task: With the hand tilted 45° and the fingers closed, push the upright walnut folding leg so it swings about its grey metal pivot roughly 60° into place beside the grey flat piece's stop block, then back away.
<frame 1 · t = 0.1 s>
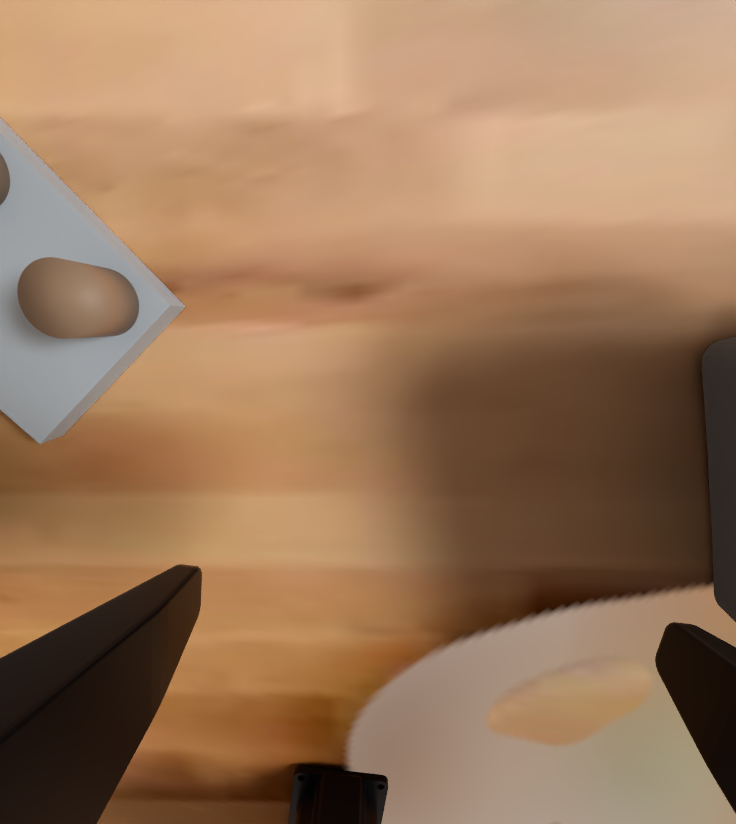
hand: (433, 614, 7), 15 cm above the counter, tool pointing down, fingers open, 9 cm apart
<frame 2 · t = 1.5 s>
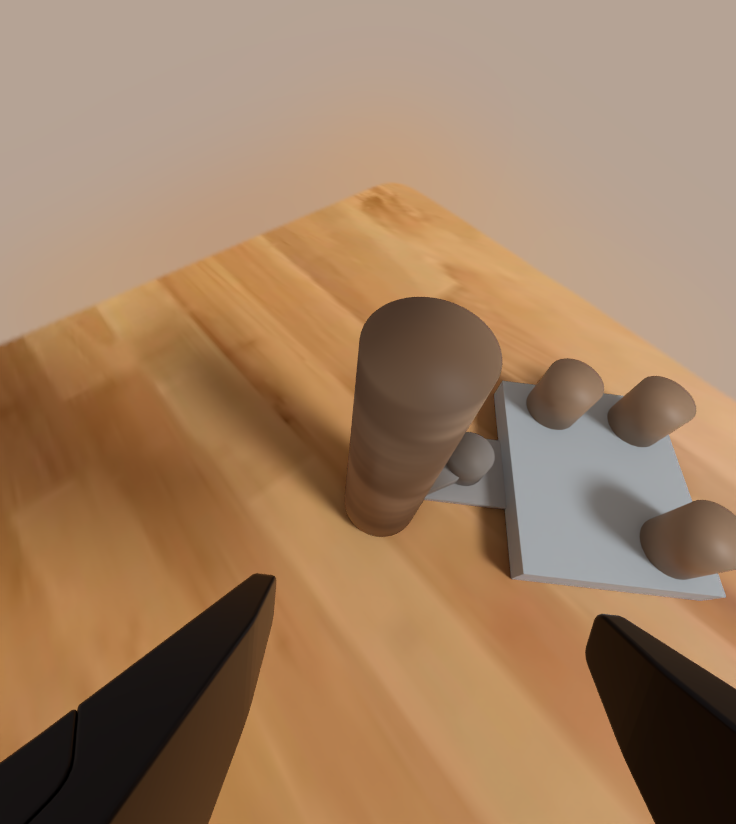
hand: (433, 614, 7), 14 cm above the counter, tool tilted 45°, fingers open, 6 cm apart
folding leg: (445, 430, 17), point 7 cm above the counter, hinge at 0.0°
grey flat piece: (459, 469, 24), on the counter
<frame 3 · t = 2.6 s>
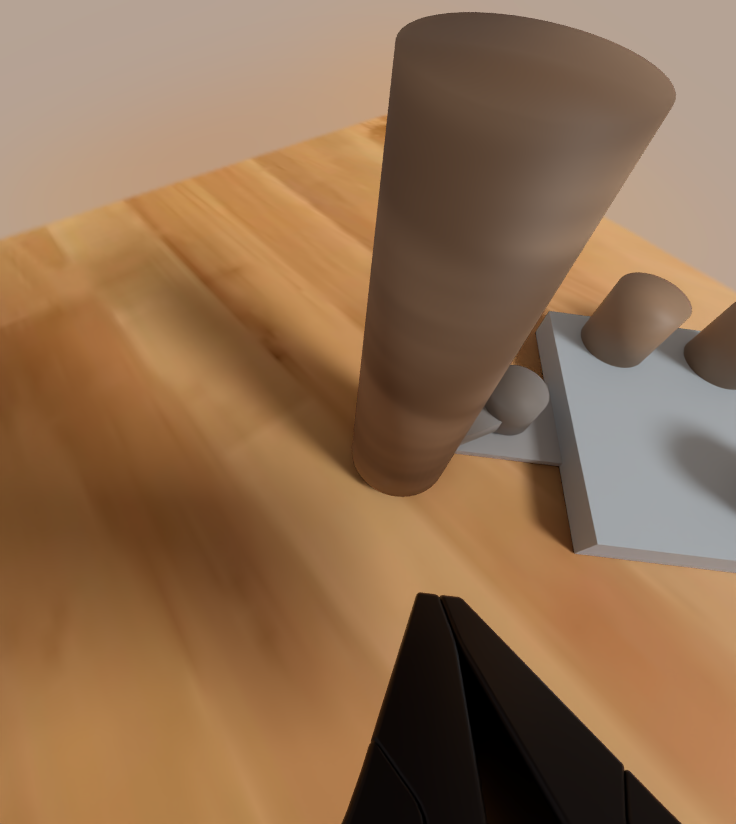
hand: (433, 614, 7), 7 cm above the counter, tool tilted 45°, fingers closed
folding leg: (500, 330, 12), point 7 cm above the counter, hinge at 0.0°
grey flat piece: (498, 417, 19), on the counter
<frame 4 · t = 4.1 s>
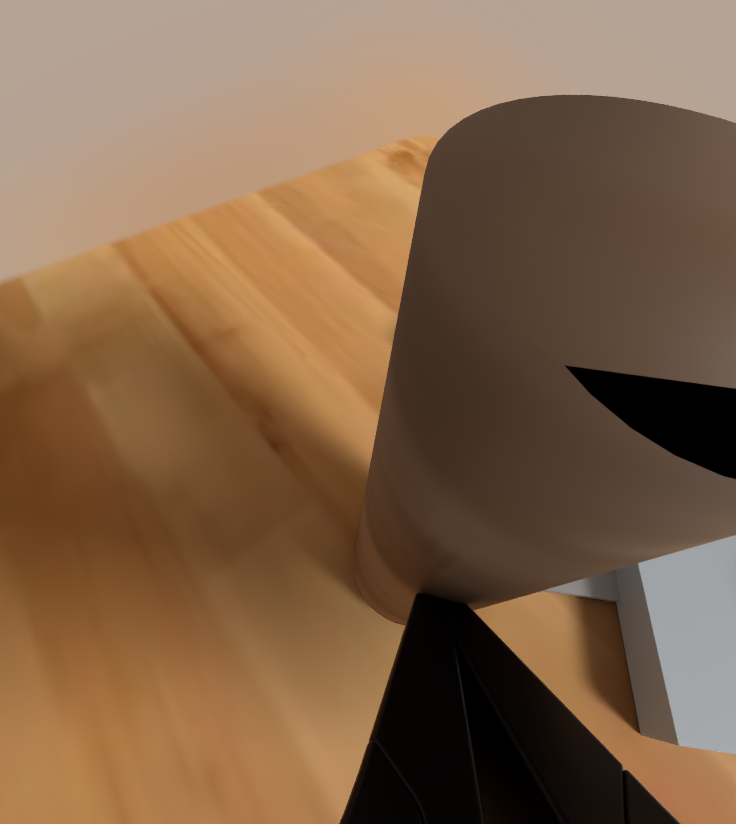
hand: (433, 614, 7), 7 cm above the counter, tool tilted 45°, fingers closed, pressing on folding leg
folding leg: (556, 480, 9), point 7 cm above the counter, hinge at 8.9°, touching gripper
grey flat piece: (539, 531, 15), on the counter
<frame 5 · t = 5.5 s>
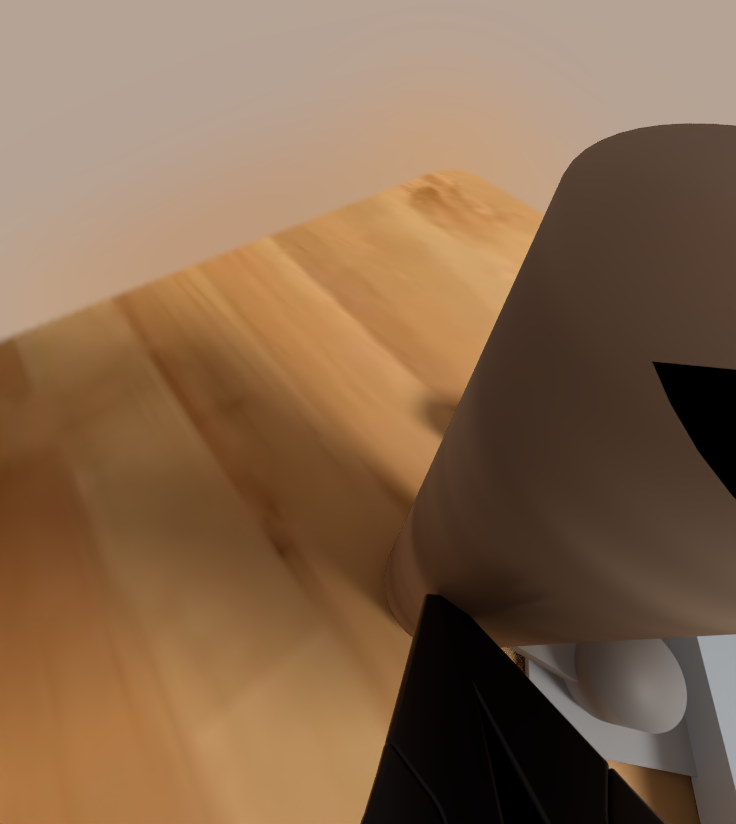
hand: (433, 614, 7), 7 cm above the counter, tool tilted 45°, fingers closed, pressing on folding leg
folding leg: (628, 592, 8), point 7 cm above the counter, hinge at 48.8°, touching gripper
grey flat piece: (591, 670, 13), on the counter
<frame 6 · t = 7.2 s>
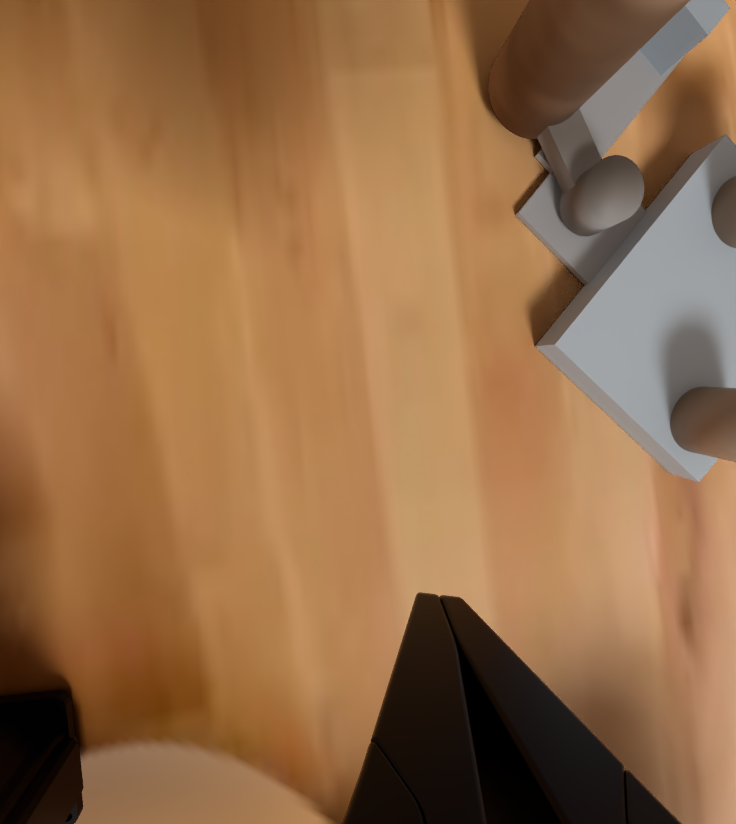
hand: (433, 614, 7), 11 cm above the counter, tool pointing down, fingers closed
folding leg: (697, 10, 11), point 7 cm above the counter, hinge at 48.9°
grey flat piece: (577, 211, 18), on the counter
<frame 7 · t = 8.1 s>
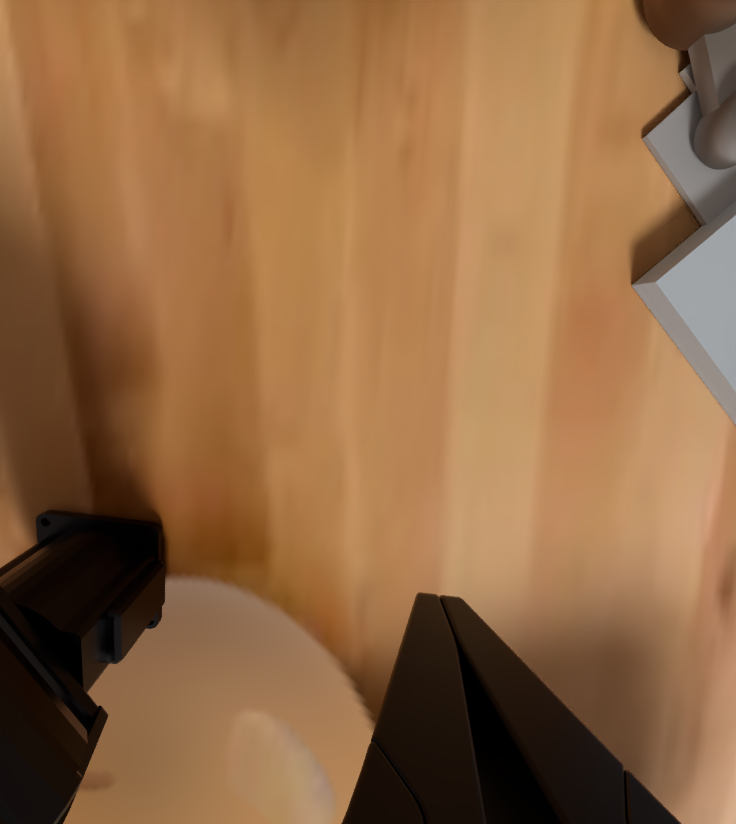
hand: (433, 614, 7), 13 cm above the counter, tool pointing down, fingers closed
grey flat piece: (713, 141, 17), on the counter
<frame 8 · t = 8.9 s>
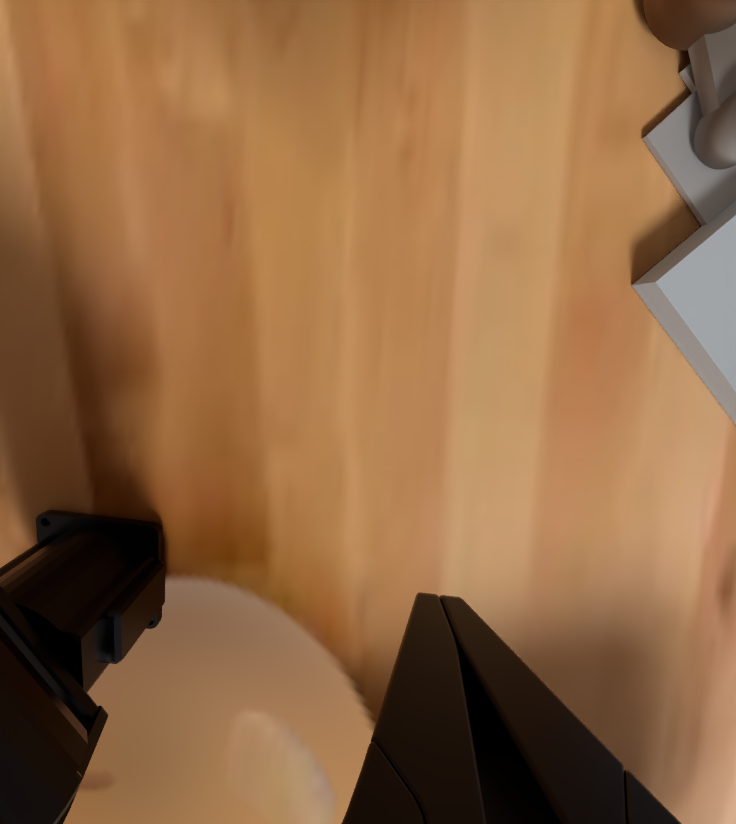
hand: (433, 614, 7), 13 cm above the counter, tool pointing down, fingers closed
grey flat piece: (713, 141, 17), on the counter
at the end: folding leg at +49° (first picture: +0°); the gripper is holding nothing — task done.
